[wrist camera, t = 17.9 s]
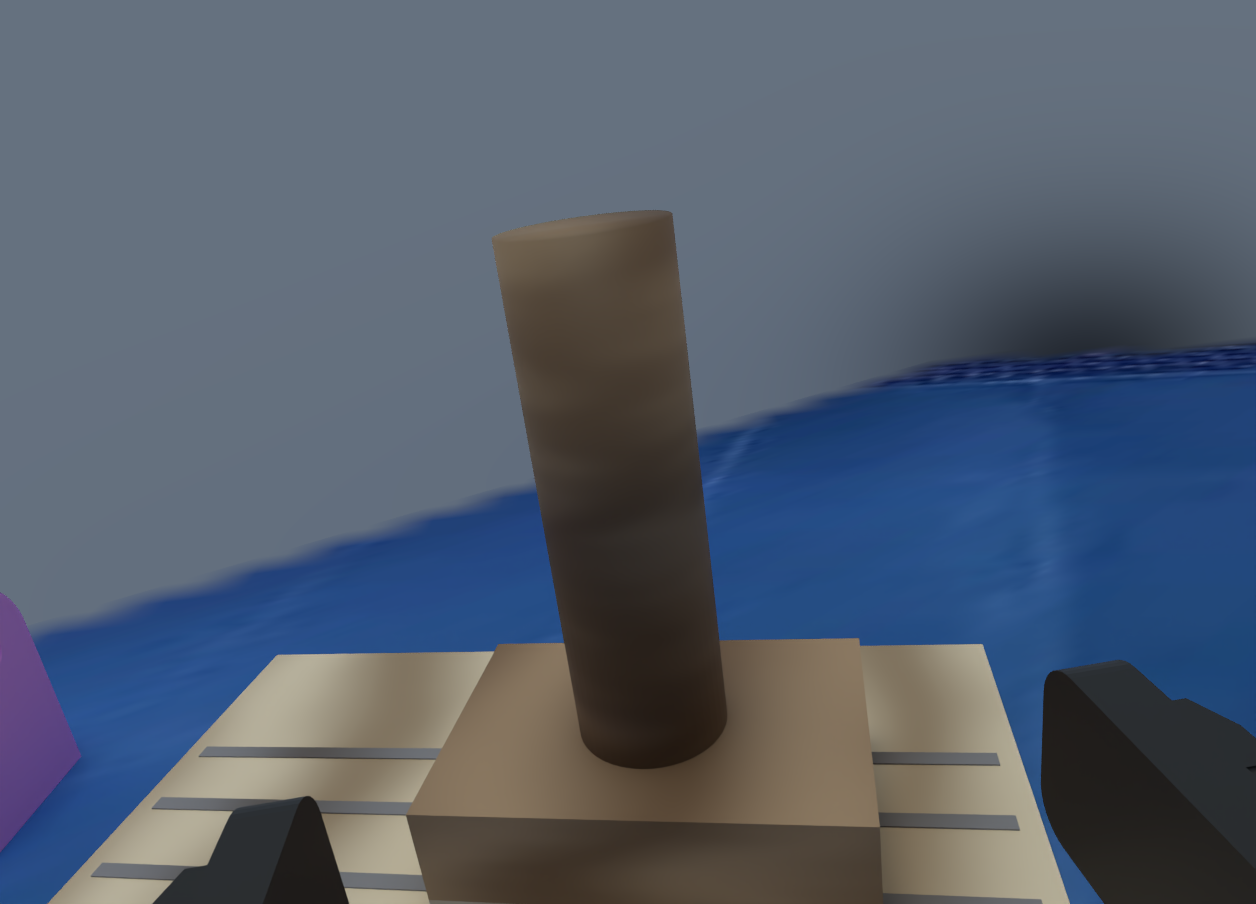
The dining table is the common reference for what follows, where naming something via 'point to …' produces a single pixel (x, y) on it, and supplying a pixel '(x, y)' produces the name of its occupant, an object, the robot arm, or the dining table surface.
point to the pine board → (430, 706)
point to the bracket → (27, 727)
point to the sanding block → (639, 640)
